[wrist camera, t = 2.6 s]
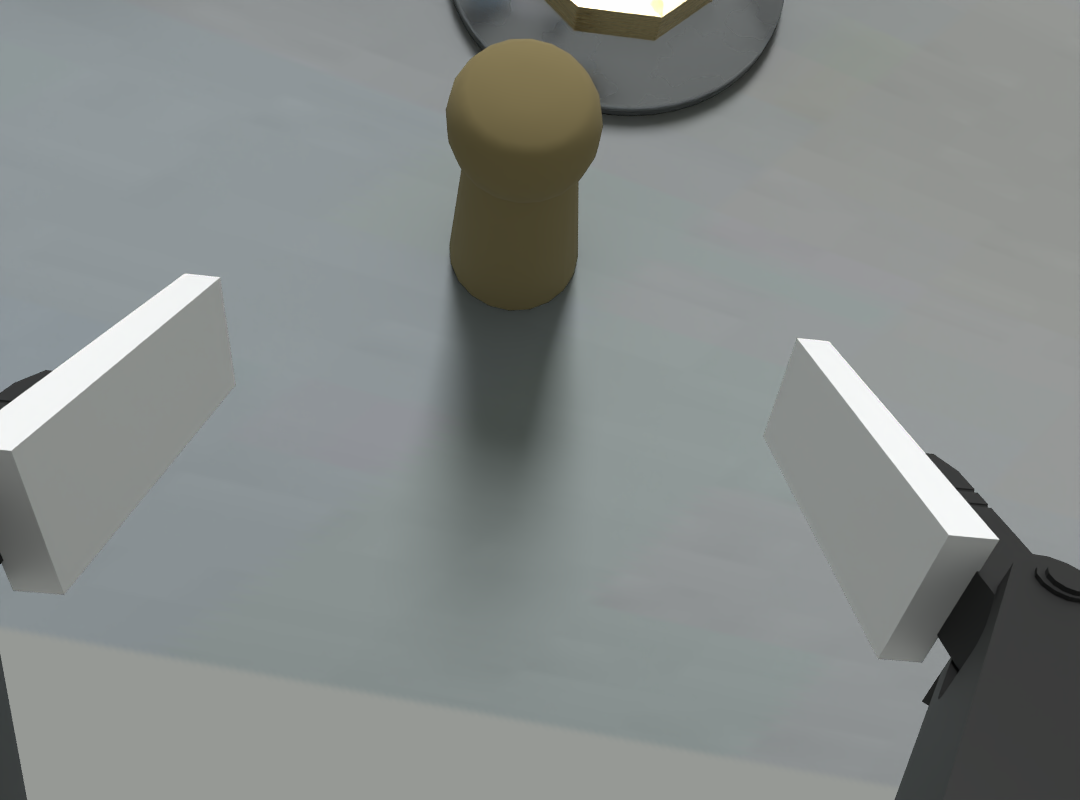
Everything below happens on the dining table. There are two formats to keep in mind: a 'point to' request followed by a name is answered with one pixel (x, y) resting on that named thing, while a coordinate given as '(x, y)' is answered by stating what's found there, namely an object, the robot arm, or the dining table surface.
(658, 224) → the dining table surface
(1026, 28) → the dining table surface
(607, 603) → the dining table surface
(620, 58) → the ring plate
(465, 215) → the cork
